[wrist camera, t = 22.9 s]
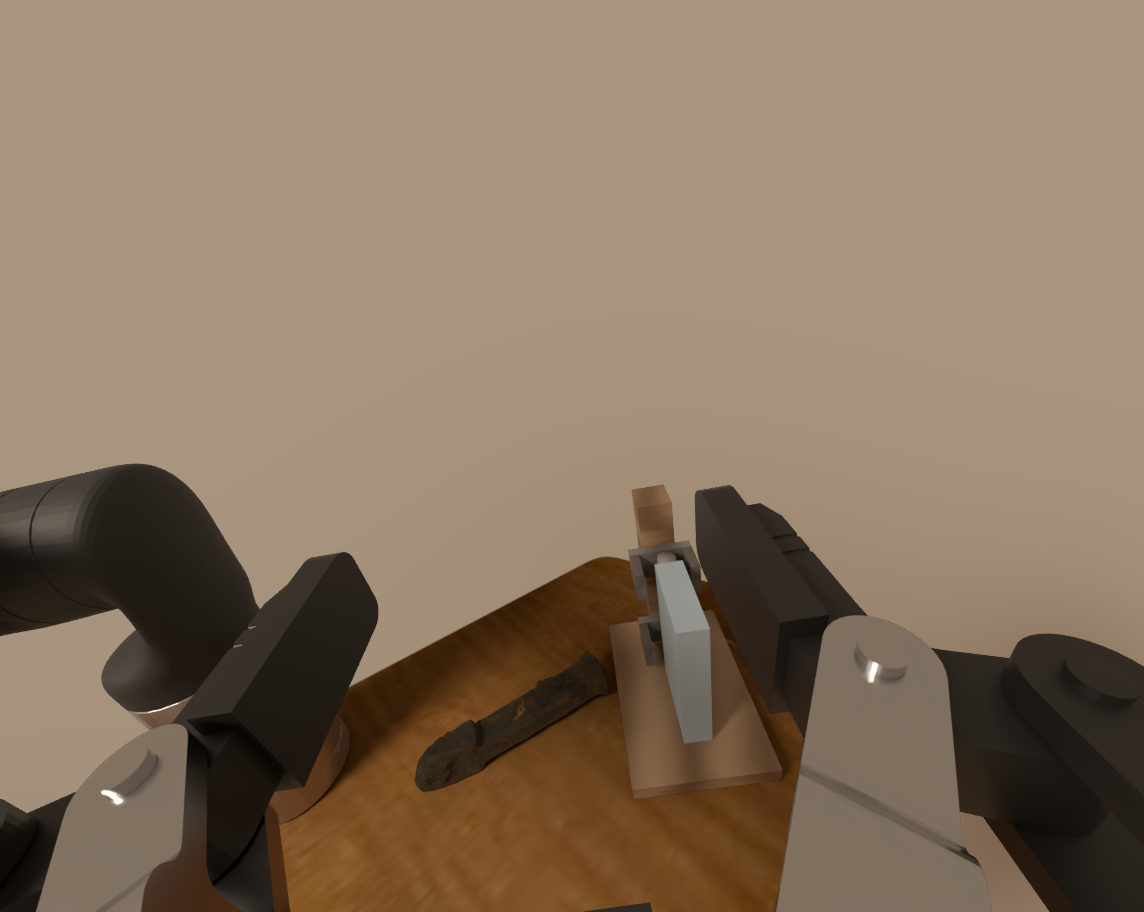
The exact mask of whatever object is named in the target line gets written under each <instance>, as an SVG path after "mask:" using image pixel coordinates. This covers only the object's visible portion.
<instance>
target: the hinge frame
mask: <svg viewBox="0 0 1144 912" xmlns="http://www.w3.org/2000/svg"><path fill="white" fill-rule="evenodd" d="M632 496H633V503H634V512H635V520H636V528H637V536H638V545H639V548H638V549H632V550H628V552H629V559H630V566H631V573H632V578H633V582H634V586H635V591H636V595H637V599H638V601H644V600H645V601H646V609H647V616H643V617H638V621H635V622H628V623H621V624H615V625H609V631H610V638H611V645H612V652H613V659H614V666H615V673H616V680H617V687H618V694H619V701H620V708H621V715H622V722H623V730H624V737H625V744H626V751H627V758H628V765H629V772H630V779H631V786H632V792H633V797H634V799H640V798H647V797H655V796H662V795H670V794H678V793H685V792H693V791H701V790H708V789H716V788H723V787H731V786H739V785H746V784H754V783H762V782H769V781H777V780H782V772H783V770H782V767H781V765H780V763H779V761H778V758H777V756H776V754H775V751H774V749H773V747H772V744H771V742H770V740H769V738H768V735H767V733H766V731H765V728H764V726H763V724H762V721H761V719H760V717H759V715H758V712H757V710H756V708H755V705H754V703H753V701H752V698H751V696H750V694H749V692H748V689H747V687H746V685H745V682H744V680H743V678H742V675H741V673H740V671H739V669H738V666H737V664H736V662H735V659H734V657H733V655H732V652H731V650H730V648H729V646H728V643H727V641H726V639H725V636H724V634H723V632H722V629H721V627H720V625H719V623H718V620H717V618H716V616H715V613H714V611H713V610H708V611H703V613H704V615H705V618H706V620H707V623H708V625H709V628H710V655H711V698H712V740H708V741H700V742H693V743H685V744H684V740H683V736H682V732H681V728H680V724H679V720H678V716H677V712H676V708H675V705H674V701H673V697H672V693H671V689H670V685H669V681H668V677H667V673H666V669H665V661H664V651H663V642H662V632H661V622H660V613H659V603H658V593H657V584H656V574H655V564H658V562H657V556H658V554H660V553H661V552H665V551H667V552H671V553H673V554H674V555H675V556H676V561H680V560H683V563H684V565H685V568H686V570H687V573H688V575H689V578H690V580H691V583H692V585H693V588H694V590H695V593H697V592H701V573H700V572H701V571H700V564H699V563H698V560H697V558H696V556H695V553H694V551H693V549H692V547H691V545H690V542H689V541H682V542H674V528H673V515H672V502H671V500H670V498H669V496H668V493H667V491H666V489H665V487H664V485H658V486H653V487H646V488H641V489H634V490H632Z"/></svg>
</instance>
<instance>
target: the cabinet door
mask: <svg viewBox="0 0 1144 912" xmlns="http://www.w3.org/2000/svg"><path fill="white" fill-rule="evenodd" d="M657 562H658V564H655V574H656V584H657V593H658V603H659V613H660V622H661V632H662V642H663V651H664V661H665V669H666V673H667V677H668V681H669V685H670V689H671V693H672V697H673V701H674V705H675V708H676V712H677V716H678V720H679V724H680V728H681V732H682V736H683V740H684V744H685V743H693V742H700V741H708V740H712V698H711V655H710V628H709V625H708V623H707V620H706V618H705V615H704V613H703V610H702V608H701V605H700V603H699V600H698V598H697V595H696V593H695V590H694V588H693V585H692V583H691V580H690V578H689V575H688V573H687V570H686V568H685V565H684V563H683V560H680V561H676V556H675V555H674V554H673V553H671V552H667V551H665V552H661V553H660V554H658V556H657Z"/></svg>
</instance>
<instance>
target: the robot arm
mask: <svg viewBox="0 0 1144 912" xmlns="http://www.w3.org/2000/svg"><path fill="white" fill-rule="evenodd" d="M695 522H696V546H697V553H698V557H699V561H700V564H701V567H702V570H703V572H704V574H705V576H706V579H707V581H708V583H709V585H710V587H711V589H712V591H713V593H714V596H715V598H716V600H717V602H718V604H719V606H720V608H721V610H722V613H723V615H724V617H725V619H726V621H727V623H728V625H729V627H730V630H731V632H732V634H733V636H734V638H735V640H736V642H737V644H738V647H739V649H740V651H741V653H742V655H743V657H744V659H745V661H746V664H747V666H748V668H749V670H750V672H751V674H752V676H753V679H754V681H755V683H756V685H757V687H758V689H759V691H760V693H761V696H762V698H763V700H764V702H765V704H766V706H767V708H768V710H769V713H770V714H774V713H780V712H787V711H790V712H791V714H792V716H793V718H794V720H795V722H796V724H797V726H798V728H799V730H800V732H801V733H802V735H803V737H804V742H803V747H802V753H801V759H800V765H799V771H798V776H797V782H796V788H795V794H794V799H793V805H792V811H791V817H790V823H789V828H788V834H787V840H786V846H785V851H784V857H783V863H782V869H781V874H780V880H779V886H778V891H777V897H776V903H775V908H774V912H992V909H991V902H990V896H989V891H988V887H987V883H986V879H985V876H984V873H983V870H982V868H981V866H980V864H979V862H978V860H977V859H976V858H975V857H974V856H972V855H970V854H969V853H968V852H967V850H966V848H965V845H964V841H963V837H962V831H961V821H960V812H964V813H969V814H973V815H977V816H982V817H984V819H985V820H986V822H987V823H988V825H989V826H990V827H991V829H992V830H993V832H994V833H995V835H996V836H997V837H998V839H999V840H1000V842H1001V843H1002V844H1003V846H1004V847H1005V849H1006V850H1007V852H1008V853H1009V854H1010V856H1011V857H1012V859H1013V860H1014V862H1015V863H1016V865H1017V866H1018V867H1019V869H1020V870H1021V872H1022V873H1023V874H1024V876H1025V877H1026V879H1027V880H1028V882H1029V883H1030V884H1031V886H1032V887H1033V889H1034V890H1035V892H1036V893H1037V894H1038V896H1039V897H1040V899H1041V900H1042V902H1043V903H1044V904H1045V906H1046V907H1047V909H1048V910H1049V912H1144V667H1143V666H1142V665H1140V664H1138V663H1137V662H1135V661H1133V660H1132V659H1130V658H1128V657H1125V656H1123V655H1122V654H1120V653H1118V652H1115V651H1113V650H1111V649H1108V648H1106V647H1104V646H1101V645H1098V644H1095V643H1092V642H1090V641H1086V640H1083V639H1079V638H1075V637H1071V636H1065V635H1059V634H1036V635H1030V636H1028V637H1025V638H1023V639H1022V640H1020V641H1019V642H1018V643H1017V645H1016V647H1015V649H1014V650H1013V652H1012V654H1011V656H1010V658H1003V657H995V656H987V655H978V654H971V653H963V652H954V651H947V650H939V649H934V648H930V647H929V646H928V645H927V644H926V643H924V641H923V640H921V639H920V638H919V637H917V636H916V635H914V634H913V633H911V632H910V631H908V630H906V629H905V628H903V627H901V626H898V625H896V624H894V623H892V622H889V621H886V620H883V619H880V618H875V617H870V616H867V614H866V613H865V612H864V611H863V610H862V609H861V608H860V607H859V606H858V604H857V603H856V602H855V601H854V600H853V599H852V597H851V596H850V595H849V594H848V593H847V592H846V590H845V589H844V588H843V587H842V586H841V585H840V584H839V582H838V581H837V580H836V579H835V577H834V576H833V575H832V574H831V573H830V572H829V571H828V569H827V568H826V567H825V566H824V565H823V563H822V562H821V561H820V560H819V559H818V558H817V556H816V555H815V554H814V553H813V552H810V550H809V547H808V546H807V545H806V544H805V542H804V541H803V540H802V539H801V538H800V537H798V536H797V533H796V532H795V531H794V529H793V528H792V527H791V526H790V525H789V524H788V522H787V521H786V520H785V519H784V518H783V517H782V516H781V515H779V514H778V513H776V512H774V511H773V510H771V509H769V508H768V507H766V506H764V505H762V504H761V503H759V504H753V505H746V503H745V502H744V500H743V499H742V498H741V497H740V495H739V494H738V493H737V491H736V490H735V489H734V487H732V486H731V485H727V486H722V487H715V488H710V489H704V490H699V491H696V493H695ZM118 608H119V609H120V610H121V611H122V613H123V614H124V615H125V616H126V617H127V618H128V619H129V621H130V622H131V623H132V625H133V626H134V627H135V629H136V630H135V631H134V632H133V633H132V634H131V635H130V636H128V637H127V638H126V639H125V640H124V641H123V642H122V643H121V644H120V645H119V647H118V648H117V649H116V650H115V651H114V653H113V654H112V655H111V656H110V658H109V659H108V661H107V662H106V664H105V666H104V669H103V672H102V677H101V678H102V684H103V687H104V689H105V690H106V692H107V693H108V694H109V695H110V696H111V697H112V698H113V699H114V700H115V701H117V702H118V703H119V704H120V705H121V706H122V707H123V708H125V709H126V710H127V711H128V712H129V713H130V714H132V715H133V716H134V717H135V718H136V719H137V720H138V721H140V722H141V723H142V724H143V725H144V726H145V727H146V728H147V729H149V730H150V731H147V732H145V733H143V734H142V735H140V736H138V737H136V738H135V739H133V740H131V741H130V742H128V743H127V744H125V745H124V746H123V747H121V748H120V749H119V750H117V751H116V752H115V753H113V754H112V755H111V756H110V757H109V758H108V759H106V760H105V761H104V762H103V763H102V764H101V765H100V766H99V767H98V768H97V769H95V771H94V772H93V773H92V774H91V775H90V776H89V777H88V778H87V779H86V780H85V782H84V783H83V784H82V785H81V786H80V788H79V789H78V790H77V792H74V793H72V794H70V795H68V796H65V797H63V798H61V799H59V800H56V801H54V802H52V803H50V804H47V805H45V806H43V807H40V808H38V809H36V810H34V811H32V812H29V813H25V812H24V811H22V810H20V809H19V808H17V807H15V806H13V805H11V804H10V803H8V802H6V801H5V800H3V799H0V912H290V907H289V899H288V891H287V883H286V875H285V867H284V860H283V852H282V844H281V836H280V828H279V824H282V823H284V822H287V821H289V820H291V819H293V818H295V817H297V816H298V815H300V814H302V813H303V812H304V811H306V810H307V809H308V808H310V807H311V806H312V805H313V804H314V803H315V802H316V801H317V800H318V799H319V798H321V797H322V796H323V795H324V793H325V792H326V791H327V790H328V789H329V787H330V786H331V785H332V784H333V782H334V781H335V779H336V778H337V776H338V775H339V773H340V771H341V769H342V767H343V765H344V763H345V761H346V758H347V755H348V752H349V748H350V732H349V730H348V728H347V726H346V725H345V723H344V722H343V721H342V719H341V718H340V717H339V715H338V714H337V713H338V710H339V708H340V706H341V704H342V701H343V699H344V697H345V695H346V692H347V690H348V688H349V686H350V683H351V681H352V679H353V677H354V674H355V672H356V670H357V667H358V665H359V663H360V661H361V658H362V656H363V654H364V652H365V650H366V647H367V645H368V643H369V641H370V638H371V636H372V634H373V632H374V630H375V627H376V624H377V621H378V604H377V600H376V598H375V596H374V594H373V592H372V591H371V589H370V587H369V585H368V583H367V582H366V580H365V578H364V576H363V574H362V573H361V571H360V569H359V567H358V565H357V564H356V562H355V560H354V559H353V557H352V556H351V555H350V554H348V553H346V552H342V553H336V554H331V555H324V556H318V557H313V558H310V559H308V560H306V561H305V562H304V564H303V565H302V566H301V568H300V569H299V570H298V572H297V573H296V574H295V576H294V577H293V578H292V580H291V581H290V582H289V583H288V585H286V586H285V587H284V588H283V589H282V590H281V591H279V592H278V593H277V594H276V595H275V596H273V598H271V599H270V600H269V601H268V602H266V603H265V604H264V605H263V607H262V608H261V609H260V608H259V607H258V606H257V604H256V602H255V599H254V595H253V592H252V588H251V585H250V582H249V579H248V577H247V574H246V572H245V571H244V569H243V568H242V566H241V564H240V563H239V561H238V560H237V558H236V556H235V555H234V553H233V552H232V550H231V549H230V547H229V545H228V544H227V542H226V540H225V539H224V537H223V535H222V534H221V532H220V530H219V529H218V527H217V525H216V524H215V522H214V520H213V519H212V517H211V515H210V514H209V512H208V511H207V509H206V508H205V506H204V505H203V503H202V502H201V501H200V500H199V498H198V497H197V496H196V494H195V493H194V492H193V491H192V490H191V489H190V488H189V487H188V486H187V485H186V484H185V483H184V482H182V481H181V480H180V479H178V478H177V477H176V476H174V475H173V474H171V473H169V472H167V471H166V470H163V469H161V468H158V467H155V466H152V465H146V464H125V465H118V466H113V467H108V468H103V469H99V470H94V471H90V472H85V473H81V474H77V475H73V476H69V477H64V478H60V479H56V480H51V481H47V482H42V483H38V484H34V485H29V486H25V487H20V488H16V489H11V490H7V491H3V492H0V636H3V635H8V634H12V633H18V632H23V631H29V630H35V629H40V628H45V627H49V626H53V625H57V624H61V623H65V622H69V621H73V620H77V619H81V618H84V617H88V616H92V615H95V614H99V613H103V612H107V611H111V610H114V609H118ZM585 912H652V909H651V905H650V903H642V904H635V905H628V906H621V907H614V908H606V909H599V910H592V911H585Z"/></svg>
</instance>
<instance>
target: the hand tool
mask: <svg viewBox="0 0 1144 912" xmlns="http://www.w3.org/2000/svg"><path fill="white" fill-rule="evenodd" d="M600 694H603V695H605V696H607V695H609V690H608V685H607V681H606V677H605V675H604V672H603V671H602V669H601V667H600V665H599V663H598V661H597V659H596V657H595V656H593V655H591V654H590V653H589V652H588V651H587V652H585V653H584V655H583V656H581V658H580V659H579V661H578V662H577V663H576V664H575V665H573V666H571V667H569V668H567V669H566V670H564V671H562V672H561V673H560V674H558V675H556V676H554V677H551V678H547V679H545V680H543V681H541V680H540V681H539V682H538V683H537V685H536V687H535V688H534V689H532V690H530V691H529V692H527V693H525V694H524V695H522V696H520V697H519V698H517V699H515V700H513V701H512V702H510V703H509V704H507V705H505V706H503V707H502V708H500V709H499V710H497V711H495V712H494V713H492V714H491V715H489V716H487V717H486V718H484V719H482V720H479V721H478V722H476V723H474V722H473V721H472V720H469V721H467V722H465V723H463V724H461V725H460V726H459V727H457V728H456V729H455V730H453V731H451V732H447V733H446V734H445V735H444V736H443V737H440V738H438V739H437V740H436V741H435V742H434V743H433V744H432V745H431V746H429V747H428V748H427V749H426V751H425V752H424V753H423V755H422V756H421V758H420V759H419V761H418V765H417V769H416V776H415V783H416V786H417V787H418V788H419V789H420V790H421V791H423V792H428V791H433V790H436V789H439V788H442V787H446V786H449V785H452V784H454V783H456V782H458V781H459V780H461V779H464V778H466V777H469V776H471V775H474V774H476V773H478V772H480V771H482V770H483V769H484V768H485V766H486V763H487V762H488V761H489V760H490V759H492V758H494V757H495V756H497V755H498V754H500V753H502V752H503V751H505V750H507V749H509V748H510V747H512V746H514V745H516V744H517V743H519V742H521V741H524V740H525V739H527V738H529V737H531V736H532V735H533V734H534V733H536V732H537V731H539V730H540V729H542V728H544V727H545V726H547V725H549V724H551V723H552V722H554V721H556V720H558V719H560V718H561V717H563V716H565V715H567V714H568V713H569V712H570V711H572V710H573V709H575V708H577V707H579V706H580V705H581V704H583V703H584V702H586V701H587V700H589V699H591V698H592V697H594V696H596V695H600Z"/></svg>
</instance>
